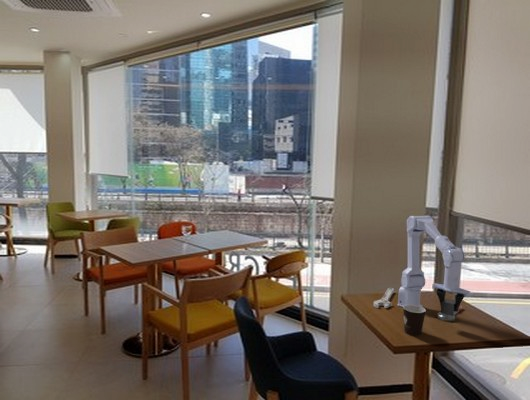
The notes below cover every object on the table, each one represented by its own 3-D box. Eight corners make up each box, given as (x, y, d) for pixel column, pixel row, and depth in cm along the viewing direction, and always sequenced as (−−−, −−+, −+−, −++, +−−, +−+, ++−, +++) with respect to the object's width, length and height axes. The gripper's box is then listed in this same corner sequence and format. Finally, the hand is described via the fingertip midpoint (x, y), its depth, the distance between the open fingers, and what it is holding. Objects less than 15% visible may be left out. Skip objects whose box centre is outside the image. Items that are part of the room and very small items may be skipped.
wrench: (399, 289, 219) (389, 306, 192) (399, 292, 219) (389, 310, 192) (383, 286, 222) (372, 303, 195) (383, 289, 222) (372, 307, 195)
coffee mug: (424, 338, 163) (425, 314, 162) (401, 334, 166) (402, 310, 165) (424, 327, 174) (425, 304, 173) (402, 324, 177) (403, 301, 176)
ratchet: (434, 318, 184) (435, 308, 184) (451, 306, 200) (452, 296, 200) (451, 323, 179) (452, 312, 179) (467, 310, 195) (468, 300, 195)
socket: (440, 312, 173) (441, 301, 172) (444, 309, 176) (445, 298, 176) (453, 316, 169) (454, 304, 169) (457, 312, 173) (458, 301, 172)
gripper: (430, 275, 173) (428, 306, 175) (467, 283, 163) (464, 316, 165) (436, 272, 178) (434, 302, 180) (472, 279, 169) (470, 311, 170)
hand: (449, 309), depth 173 cm, fingers closed on socket, 5 cm apart
